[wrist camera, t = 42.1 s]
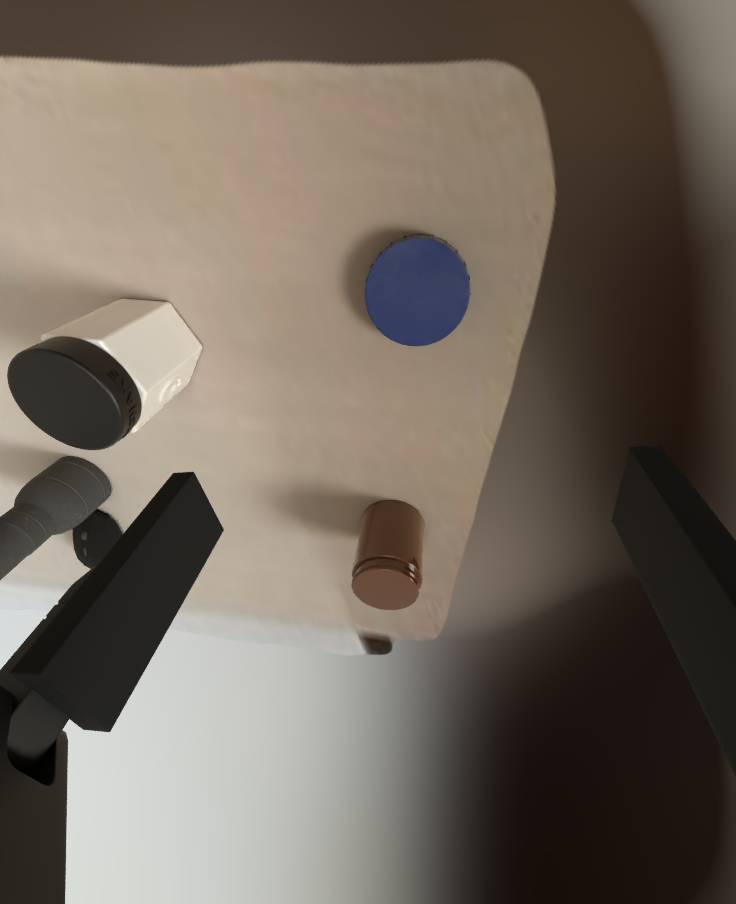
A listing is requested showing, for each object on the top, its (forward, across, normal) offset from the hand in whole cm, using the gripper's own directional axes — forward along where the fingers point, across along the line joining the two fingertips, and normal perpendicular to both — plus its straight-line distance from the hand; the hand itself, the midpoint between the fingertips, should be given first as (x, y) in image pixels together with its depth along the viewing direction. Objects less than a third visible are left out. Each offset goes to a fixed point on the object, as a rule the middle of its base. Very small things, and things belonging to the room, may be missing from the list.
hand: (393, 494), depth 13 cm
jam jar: (+24, -6, -26) cm, 36 cm away
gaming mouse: (+25, -46, -26) cm, 58 cm away
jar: (+25, -25, -1) cm, 35 cm away
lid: (+23, 0, 0) cm, 23 cm away
